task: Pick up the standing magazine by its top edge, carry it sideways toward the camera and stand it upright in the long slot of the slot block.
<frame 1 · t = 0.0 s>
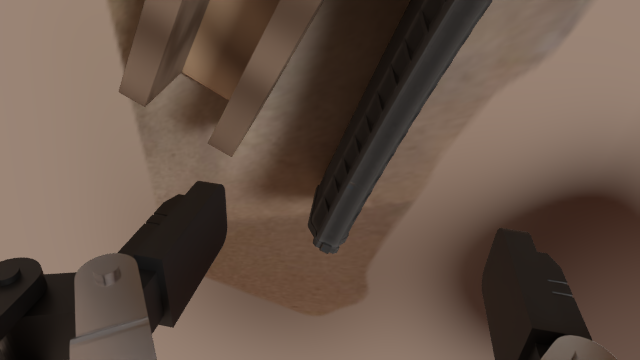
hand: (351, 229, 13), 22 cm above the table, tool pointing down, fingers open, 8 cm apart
magazine: (411, 42, 32), on the table
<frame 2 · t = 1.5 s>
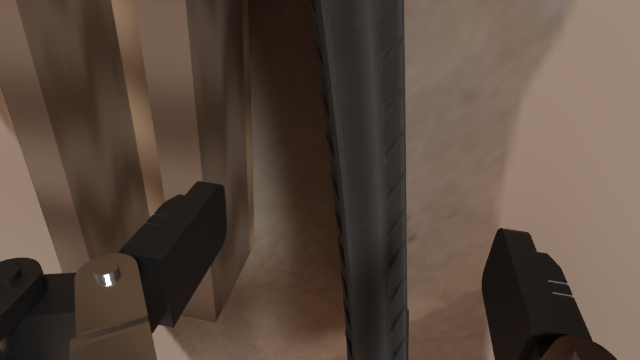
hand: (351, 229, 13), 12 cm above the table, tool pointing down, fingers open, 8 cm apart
magazine: (376, 90, 24), on the table
slot block: (173, 66, 25), on the table
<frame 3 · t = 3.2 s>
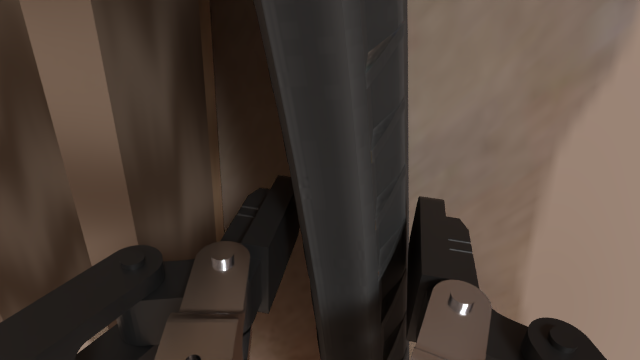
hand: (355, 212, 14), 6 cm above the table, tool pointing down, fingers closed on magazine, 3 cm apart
magazine: (372, 140, 19), on the table, touching gripper
slot block: (124, 102, 20), on the table
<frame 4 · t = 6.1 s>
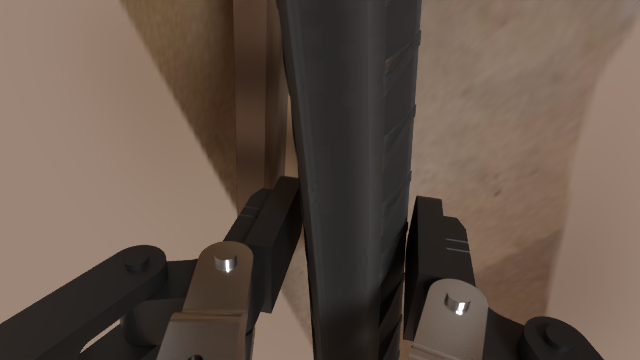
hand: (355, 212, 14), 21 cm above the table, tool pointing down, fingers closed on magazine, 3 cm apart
magazine: (373, 143, 19), point 15 cm above the table, touching gripper
slot block: (326, 52, 32), on the table
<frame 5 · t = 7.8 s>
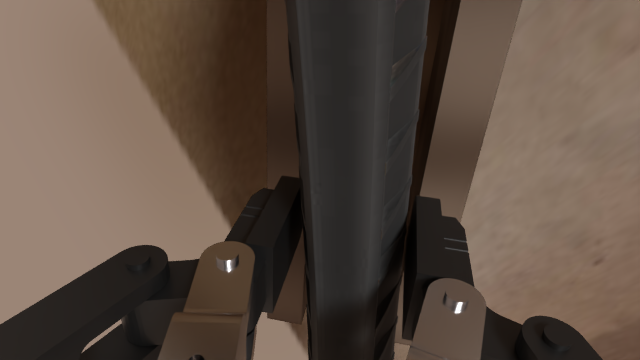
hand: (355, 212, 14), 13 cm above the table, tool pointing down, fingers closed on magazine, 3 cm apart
magazine: (372, 144, 19), point 7 cm above the table, touching gripper
slot block: (380, 88, 24), on the table
when the fingers open (8 cm above the table, at t = 9.0 s): magazine drops 1 cm, resting on slot block.
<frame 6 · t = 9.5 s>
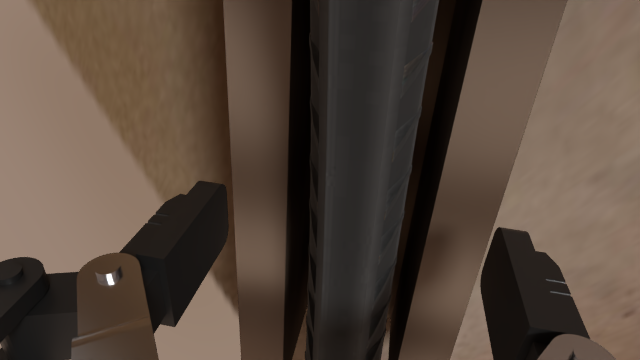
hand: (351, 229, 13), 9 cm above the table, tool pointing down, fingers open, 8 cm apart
magazine: (370, 138, 20), point 1 cm above the table, touching slot block
slot block: (375, 116, 21), on the table
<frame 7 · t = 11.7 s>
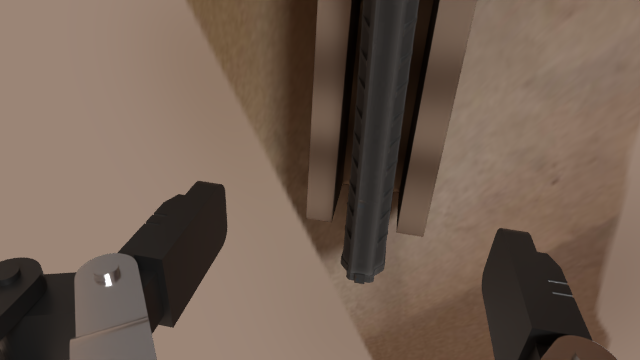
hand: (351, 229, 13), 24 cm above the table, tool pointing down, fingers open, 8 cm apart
magazine: (387, 59, 33), point 1 cm above the table, touching slot block
slot block: (390, 47, 33), on the table
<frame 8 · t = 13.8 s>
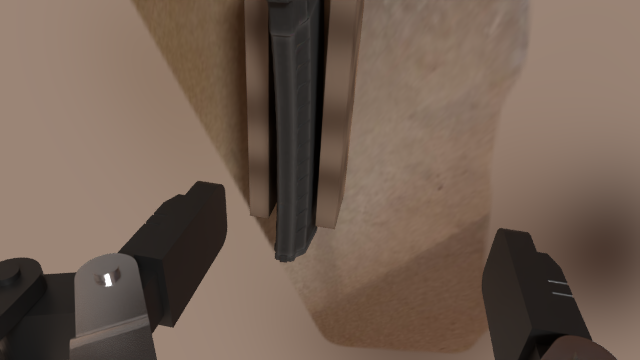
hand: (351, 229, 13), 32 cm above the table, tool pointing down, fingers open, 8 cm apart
magazine: (308, 98, 44), point 1 cm above the table, touching slot block
slot block: (311, 89, 45), on the table
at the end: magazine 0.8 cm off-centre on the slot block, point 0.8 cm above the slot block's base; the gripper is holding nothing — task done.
